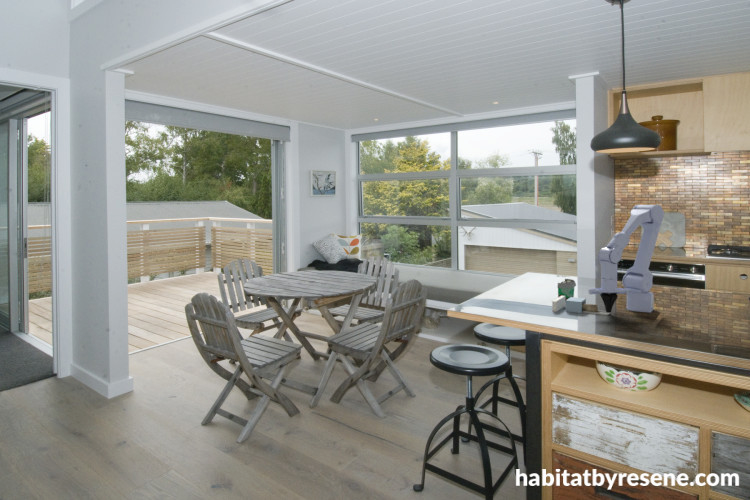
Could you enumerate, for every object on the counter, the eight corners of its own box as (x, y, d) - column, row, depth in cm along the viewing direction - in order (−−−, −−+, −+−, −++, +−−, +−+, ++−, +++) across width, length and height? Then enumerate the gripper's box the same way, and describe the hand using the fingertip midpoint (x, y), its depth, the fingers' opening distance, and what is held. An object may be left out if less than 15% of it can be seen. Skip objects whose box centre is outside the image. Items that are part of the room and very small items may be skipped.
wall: (565, 308, 202) (565, 295, 201) (556, 314, 192) (556, 301, 192) (561, 308, 203) (561, 295, 202) (552, 314, 193) (552, 301, 193)
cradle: (610, 315, 187) (610, 311, 187) (607, 318, 183) (607, 314, 183) (586, 313, 193) (586, 308, 193) (583, 315, 189) (583, 311, 189)
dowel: (597, 312, 189) (598, 305, 190) (595, 311, 187) (596, 304, 187) (576, 310, 194) (577, 303, 195) (574, 309, 192) (575, 302, 192)
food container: (571, 306, 205) (572, 284, 203) (557, 305, 208) (557, 283, 207) (579, 300, 214) (579, 279, 213) (565, 299, 218) (565, 278, 217)
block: (585, 312, 194) (586, 298, 193) (581, 316, 189) (581, 301, 188) (570, 310, 198) (570, 297, 197) (565, 314, 192) (565, 300, 192)
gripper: (625, 276, 186) (624, 309, 188) (586, 276, 189) (586, 309, 190) (631, 279, 179) (631, 313, 181) (591, 279, 182) (591, 313, 183)
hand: (608, 311), depth 185 cm, fingers closed
